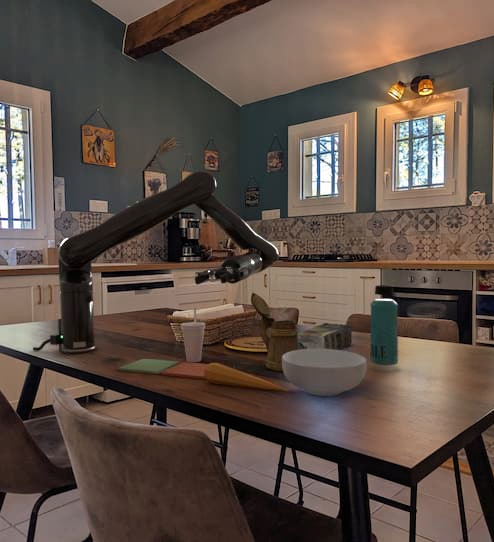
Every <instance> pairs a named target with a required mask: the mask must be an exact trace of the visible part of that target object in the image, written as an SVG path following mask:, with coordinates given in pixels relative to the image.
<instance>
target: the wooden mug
mask: <svg viewBox="0 0 494 542" xmlns="http://www.w3.org/2000/svg"><path fill="white" fill-rule="evenodd" d="M250 303H251V305H252V307H253V309H254V310H255V312H256V313H257V314H258V315H259V316H260V317H261V319H260V322H259V325H258V326H259V328H258V330H259V336H260V337H261V340H262V342H263V344H264V346H265V348H266V352H267V357H266V358H265V368H267V369H269V370H272V371H278V372H283V368H282V356H283V355H284V354H285V353H287V352H290V351H295V350H300V347H299V341H298V333H299V332H300V331H299V328H298V327H297V321H296V320H294V319H293V320H292V319H283V320H275V318H274V317H272V316H271V315H270V311H271V310H270V307H269V305H268V303H267V302H266V301H265V299H264V298H262V297H261V296H260V295H259V294H257V293H255V292H252V293H251V296H250ZM268 328H269V329H268ZM267 329H268V334H269V335H268V334H267Z"/></svg>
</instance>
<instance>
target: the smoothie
mask: <svg viewBox="0 0 494 542" xmlns="http://www.w3.org/2000/svg"><path fill="white" fill-rule="evenodd" d="M205 328H206V322H201V321H197V307H196V306H194V307H193V321H189V322H183V323H181V324H180V329H181V330H182V337H183V343H184V351H185V359H186V362H189V363H199V362H201V361H202V354H203V345H204V334H205Z"/></svg>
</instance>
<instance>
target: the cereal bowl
mask: <svg viewBox="0 0 494 542" xmlns="http://www.w3.org/2000/svg"><path fill="white" fill-rule="evenodd" d="M282 368H283V371H282V372H283V375H284V377H285V378H286V380H287V381H288V382H289V383H291V384H292V385H293V386H295V387H296V388H299V389H302V390H303V391H304V393H307V394H309V395H312V396H317V397H319V396H320V397H334V396H338V395H341V394H343V393H344V392H346V391H349V390H352V389H354V388H356V387H357V386H359V385H360V384H361V382H362V381H363V380H364V378H365V375H366V370H367V358H366V357H365V356H363V355H361V354H358V353H356V352H352V351H346V350H341V349H339V350H333V349H301V350H295V351H290V352H287V353H285V354H284V355H283V356H282Z"/></svg>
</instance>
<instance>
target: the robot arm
mask: <svg viewBox="0 0 494 542" xmlns="http://www.w3.org/2000/svg"><path fill="white" fill-rule="evenodd" d="M216 188H217V182H216V177H214V175H213V174H212V173H210V172H209V171H205V170H195V171H193V172H191V173H189V174H188V175H187V176H185V177H184V178H183V179H182V180H181V181H179V182H178V183H176V184H174V185H173V186H171V187H169V188H167V189H164V190H162V191H159V192H157V193H153V194H151V195H149V196H146V197H144V198H141V199H139V200H137V201H136V202H134V203H131V204H130V205H127V206H126V207H124V208H122V209H121V210H119V211H118V212H116V213H114V215H112V216H110V217H109V218H107V220H105V221H104V222H102V223H101V224H98V225H96V226H95V227H92V228H90V229H87V230H86V231H83V232H80V233H78V234H75V235H72V236H71V235H70V236H69V237H65V238H64V239H63V240H62V241H61V243H60V244H59V246H58V251H57V258H58V282H59V283H58V284H59V307H60V309H59V310H60V317H58V319H57V326H58V327H57V331H58V333H54V334H53V333H52V334H50V335H49V338H48V339H46V340H44V341H43V342H42V343H41V344H40V345H39V346H38V347H35V346H33V347H32V351H35V352H38V351H39V352H40V351H41V350H43V349H44V347H45V346H46V345H47V344H50V345H53V346H57V345H58V351H59V352H62V353H64V354H83V353H89V352H93V351H95V350H96V344H95V343H96V341H95V309H94V307H95V306H94V281H93V273H92V271H93V270H92V262H93V261H94V260H96V259H97V258H98V257H99V256H101V255H102V254H104V253H105V252H107V251H109V250H111V249H113V248H115V247H116V246H119V245H121V244H125V243H127V242H129V241H131V240H133V239H136V238H138V237H140V236H142V235H144V234H145V233H147V232H150V231H151V230H153V229H155V228H156V227H158V226H159V225H161V224H163V223H164V222H166V221H168V220H169V219H170V218H171V217H173V216H174V215H175V214H176V215H177V213H178V212H180V211H182V210H184V209H186V208H188V207H190V206H193V205H194V206H196V208H198V209H199V210H201V211H202V212H203V213H204V214H205V215H207V216H208V217H209V219H211V220H212V221H213V222H214V223H215V224H216V225H217V226H218V227H219V228H220V229H221V230H222V231H223V232H224V233H225V234H226V235H227V237H228V238H229V239H230V240H231V241H232V242H233V243H234V244H235V245H236V247H238V248H239V250H242V251H247V250H251V249H254V251H249V252H245V253H242V254H238V255H235V256H232V257H229V258H227V259H225V260H223V261H222V262H221V265H220V266H218V267H216V268H213V269H210V268H208V269H205V270H203V271H200V272H197V274H196V276H195V277H194V283H195V285H201V284H204V283H206V282H211V283H214V282H219V281H220V283H221V284H226V283H227V284H237V283H240V282H242V281H244V280H246V279H248V278H249V277H250V276H252V275H255V274H259V273H261V272H264V271H265V270H267V269H268V268H270V267H271V266H273V265H275V264H276V263H277V262H278V261H279V259H280V253H279V250H278V249H277V247H276V246H275V245H274V244H273V243H271V242H270V241H269V240H267V239H265V238H263V237H262V236H260V235H259V234H257V233H256V232H255V231H254V230H253V229H252V228H251V227H250V226H249V225H248V223H247V222H246V221H245V220H244V219H243V218H241V217H240V216H239V215H238V214H237V213H235V212H234V211H233V210H231V209H229V208H228V207H227V206H226V205H225V204H224V203H223V202H222V201H220V199H219V198H218V197H217V196H216V195H215V194H214V193H215V191H216Z"/></svg>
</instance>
